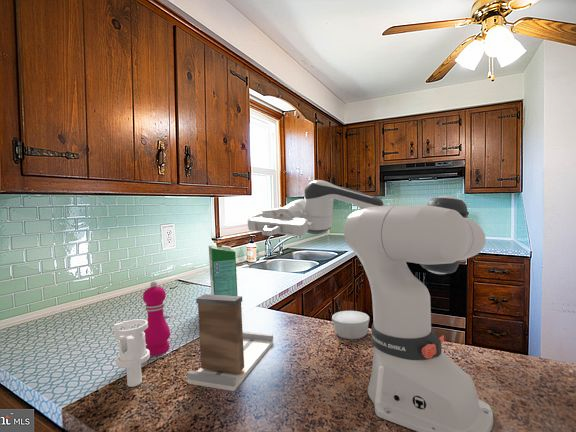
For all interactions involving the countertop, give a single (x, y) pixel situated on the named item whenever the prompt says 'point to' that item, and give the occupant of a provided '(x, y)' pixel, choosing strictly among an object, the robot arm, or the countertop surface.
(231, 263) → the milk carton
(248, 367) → the slide board
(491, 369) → the countertop surface
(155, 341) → the pepper mill
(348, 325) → the ramekin
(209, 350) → the block
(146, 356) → the white cylindrical cage holder
